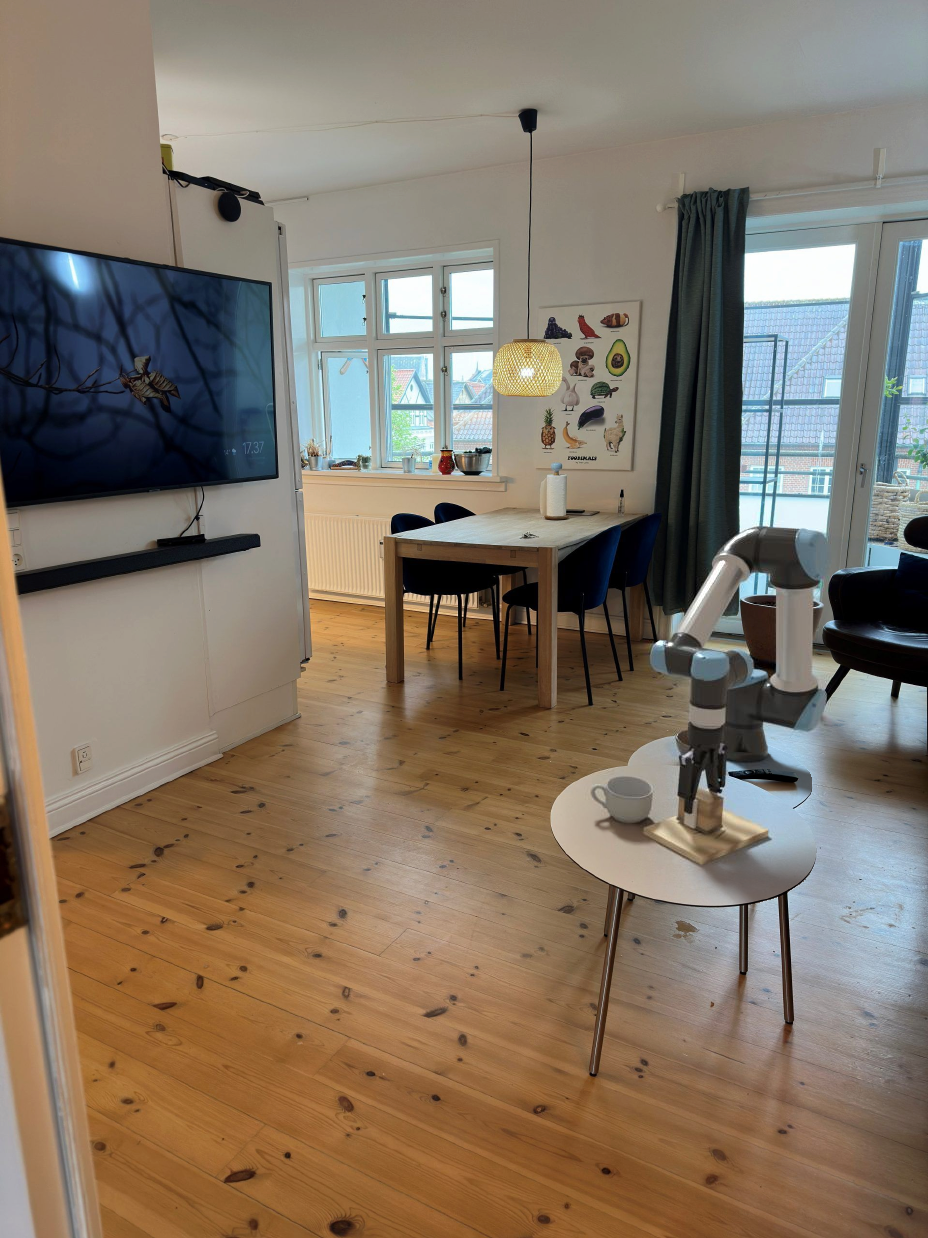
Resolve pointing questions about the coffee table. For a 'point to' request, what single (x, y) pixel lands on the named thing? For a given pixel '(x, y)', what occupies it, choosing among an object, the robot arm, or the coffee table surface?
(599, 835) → the coffee table surface
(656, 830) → the pine board
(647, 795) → the teacup
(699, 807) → the brown wooden block
